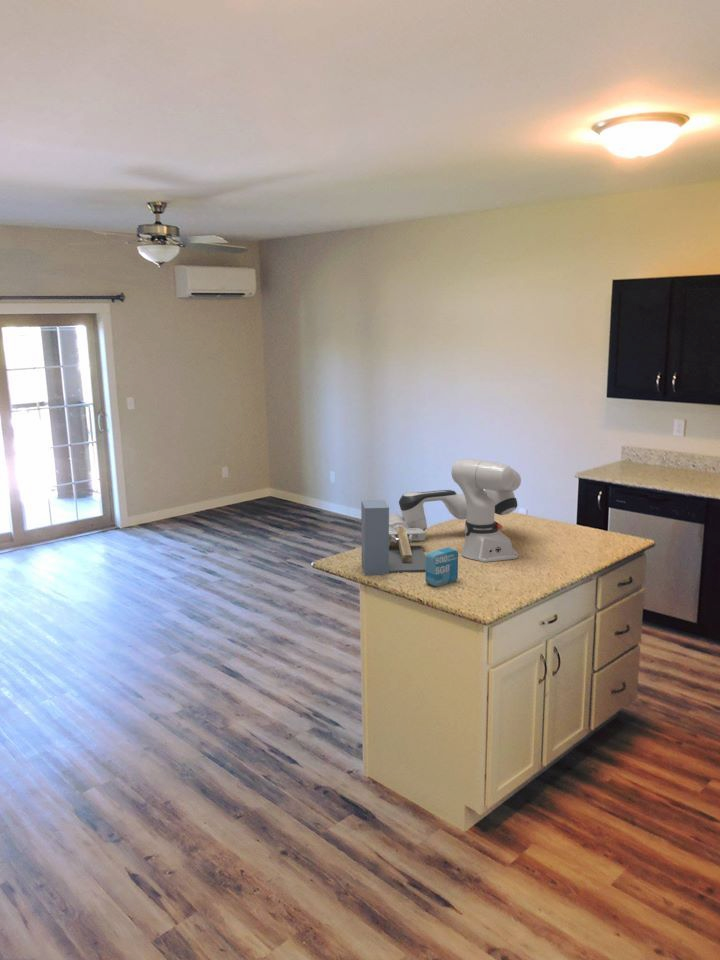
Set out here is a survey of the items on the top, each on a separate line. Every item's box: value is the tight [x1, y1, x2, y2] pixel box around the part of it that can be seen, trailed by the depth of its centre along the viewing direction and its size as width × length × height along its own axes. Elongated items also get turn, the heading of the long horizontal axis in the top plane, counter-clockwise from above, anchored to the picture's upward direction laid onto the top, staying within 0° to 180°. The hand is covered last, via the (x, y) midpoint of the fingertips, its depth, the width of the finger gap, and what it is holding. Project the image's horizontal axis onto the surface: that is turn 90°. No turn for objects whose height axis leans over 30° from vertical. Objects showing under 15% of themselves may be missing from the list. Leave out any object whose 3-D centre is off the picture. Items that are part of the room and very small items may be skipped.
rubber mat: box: [389, 545, 426, 574], centre depth 299 cm, size 17×30×1 cm, turn 6°
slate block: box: [360, 499, 390, 577], centre depth 284 cm, size 9×12×26 cm
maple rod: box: [397, 527, 412, 563], centre depth 300 cm, size 4×20×4 cm, turn 5°
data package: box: [424, 547, 459, 587], centre depth 272 cm, size 12×4×12 cm, turn 126°
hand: (403, 540), depth 302 cm, fingers closed on maple rod, 4 cm apart
